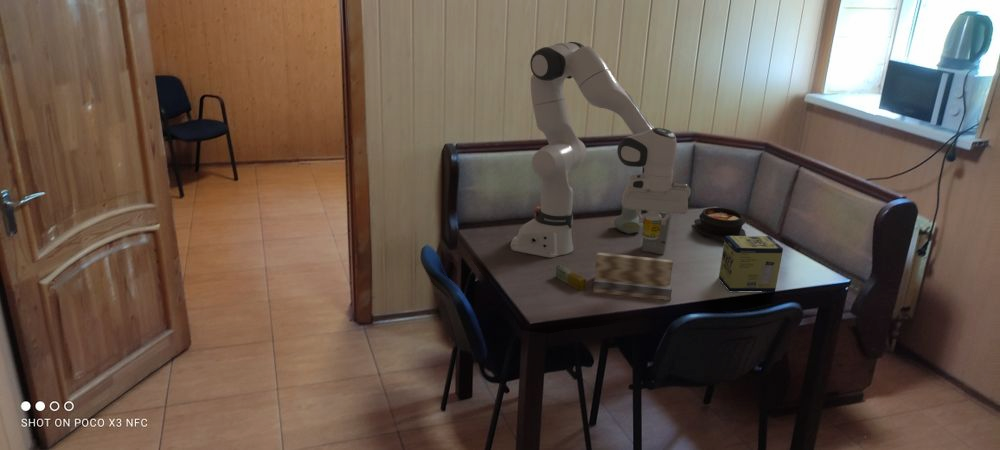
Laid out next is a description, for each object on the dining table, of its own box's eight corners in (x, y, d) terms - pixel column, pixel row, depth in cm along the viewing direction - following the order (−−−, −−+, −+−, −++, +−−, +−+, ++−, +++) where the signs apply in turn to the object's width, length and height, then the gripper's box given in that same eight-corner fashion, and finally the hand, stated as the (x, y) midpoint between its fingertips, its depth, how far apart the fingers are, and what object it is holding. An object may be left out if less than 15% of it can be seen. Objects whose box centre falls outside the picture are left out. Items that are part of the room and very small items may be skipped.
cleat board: (592, 291, 227) (595, 265, 224) (594, 277, 237) (597, 252, 234) (670, 300, 224) (674, 274, 220) (669, 285, 234) (672, 260, 231)
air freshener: (615, 234, 275) (617, 209, 271) (611, 226, 283) (614, 202, 279) (643, 235, 275) (646, 210, 271) (639, 227, 283) (642, 203, 279)
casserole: (682, 224, 288) (685, 204, 285) (723, 221, 293) (727, 201, 290) (714, 248, 266) (718, 226, 263) (759, 244, 270) (762, 224, 267)
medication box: (555, 277, 237) (555, 266, 235) (561, 275, 238) (562, 264, 237) (579, 291, 228) (580, 280, 226) (585, 289, 229) (586, 278, 228)
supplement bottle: (650, 232, 232) (654, 204, 229) (662, 238, 228) (666, 209, 225) (638, 235, 230) (641, 207, 226) (650, 241, 225) (654, 212, 222)
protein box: (717, 278, 241) (724, 235, 235) (762, 278, 242) (770, 235, 236) (728, 292, 231) (736, 247, 225) (776, 292, 232) (784, 248, 227)
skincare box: (641, 251, 260) (646, 209, 254) (645, 244, 266) (650, 204, 260) (664, 255, 257) (670, 213, 251) (668, 248, 263) (673, 207, 258)
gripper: (691, 181, 224) (684, 223, 229) (624, 175, 227) (619, 216, 232) (692, 187, 218) (686, 230, 223) (624, 181, 221) (619, 223, 226)
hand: (651, 223), depth 227 cm, fingers closed on supplement bottle, 5 cm apart
